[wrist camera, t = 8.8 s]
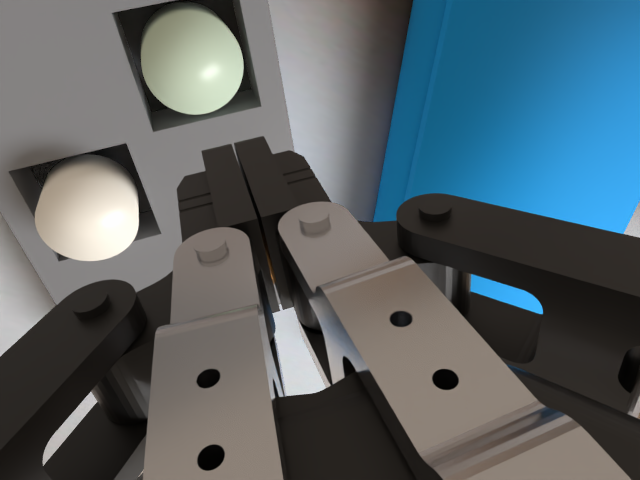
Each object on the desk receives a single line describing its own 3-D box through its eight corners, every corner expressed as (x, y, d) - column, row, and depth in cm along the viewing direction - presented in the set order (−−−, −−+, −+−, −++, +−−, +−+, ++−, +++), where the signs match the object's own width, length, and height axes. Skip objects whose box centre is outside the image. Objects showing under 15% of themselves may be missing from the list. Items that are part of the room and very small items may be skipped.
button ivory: (120, 144, 23) (119, 168, 21) (150, 218, 25) (151, 246, 23) (26, 167, 22) (16, 194, 20) (66, 241, 24) (60, 271, 22)
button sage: (222, -8, 21) (231, 2, 19) (242, 85, 24) (252, 102, 22) (126, 11, 21) (125, 24, 19) (157, 104, 23) (159, 124, 21)
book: (750, -22, 25) (574, 347, 38) (675, -31, 29) (538, 311, 42) (446, -50, 20) (364, 386, 33) (401, -56, 24) (343, 341, 37)
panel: (244, -69, 21) (256, -65, 19) (307, 267, 31) (318, 292, 29) (-98, -8, 19) (-125, 4, 17) (93, 330, 29) (90, 361, 27)
